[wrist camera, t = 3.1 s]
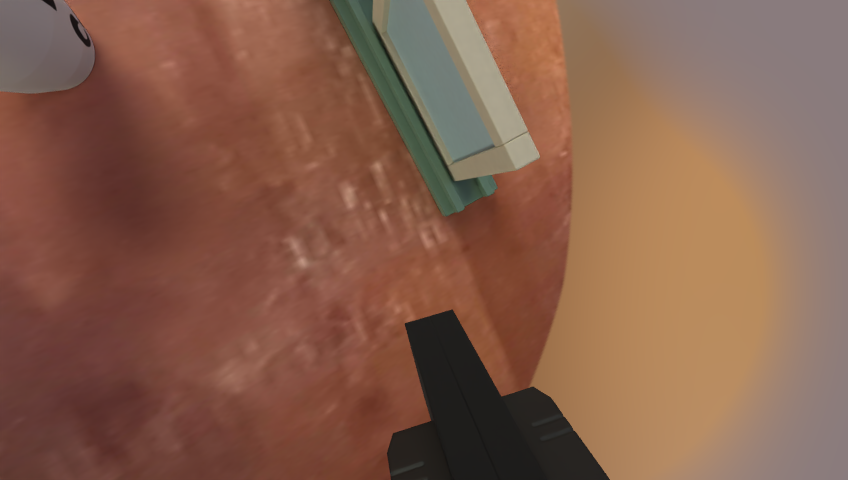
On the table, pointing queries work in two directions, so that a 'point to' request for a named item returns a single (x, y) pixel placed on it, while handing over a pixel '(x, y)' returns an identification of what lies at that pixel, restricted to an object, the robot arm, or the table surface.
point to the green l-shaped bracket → (406, 111)
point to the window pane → (454, 86)
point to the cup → (42, 47)
